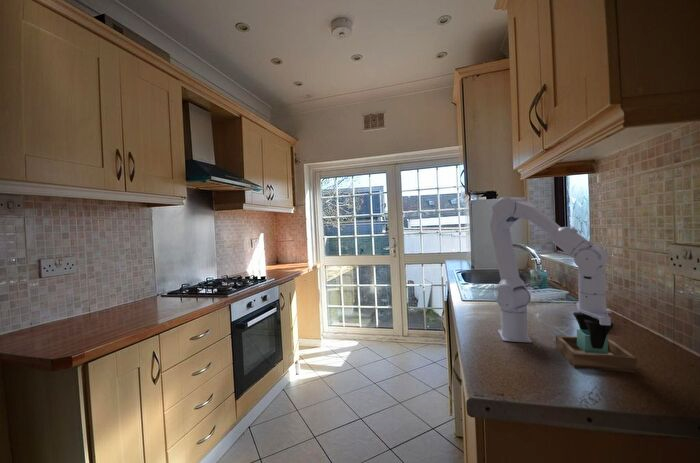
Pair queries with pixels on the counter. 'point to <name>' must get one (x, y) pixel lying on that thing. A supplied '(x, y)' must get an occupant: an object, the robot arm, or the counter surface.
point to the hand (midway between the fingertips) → (592, 344)
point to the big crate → (596, 356)
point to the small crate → (589, 343)
